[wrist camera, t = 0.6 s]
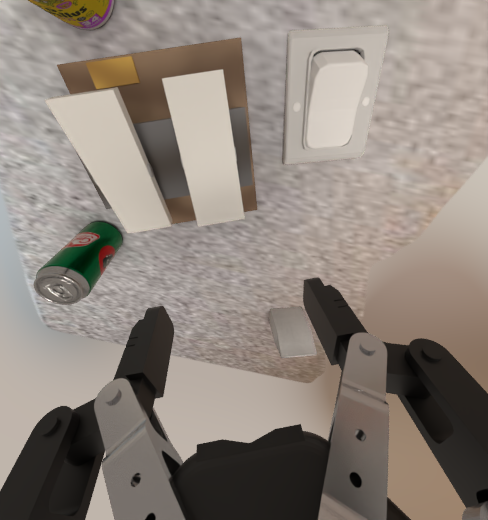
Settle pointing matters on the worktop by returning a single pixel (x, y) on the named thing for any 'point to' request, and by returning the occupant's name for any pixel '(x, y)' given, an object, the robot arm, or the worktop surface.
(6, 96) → the worktop surface
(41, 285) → the soda can
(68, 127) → the block
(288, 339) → the tea bag
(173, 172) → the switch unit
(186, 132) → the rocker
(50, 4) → the supplement bottle
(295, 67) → the light switch
